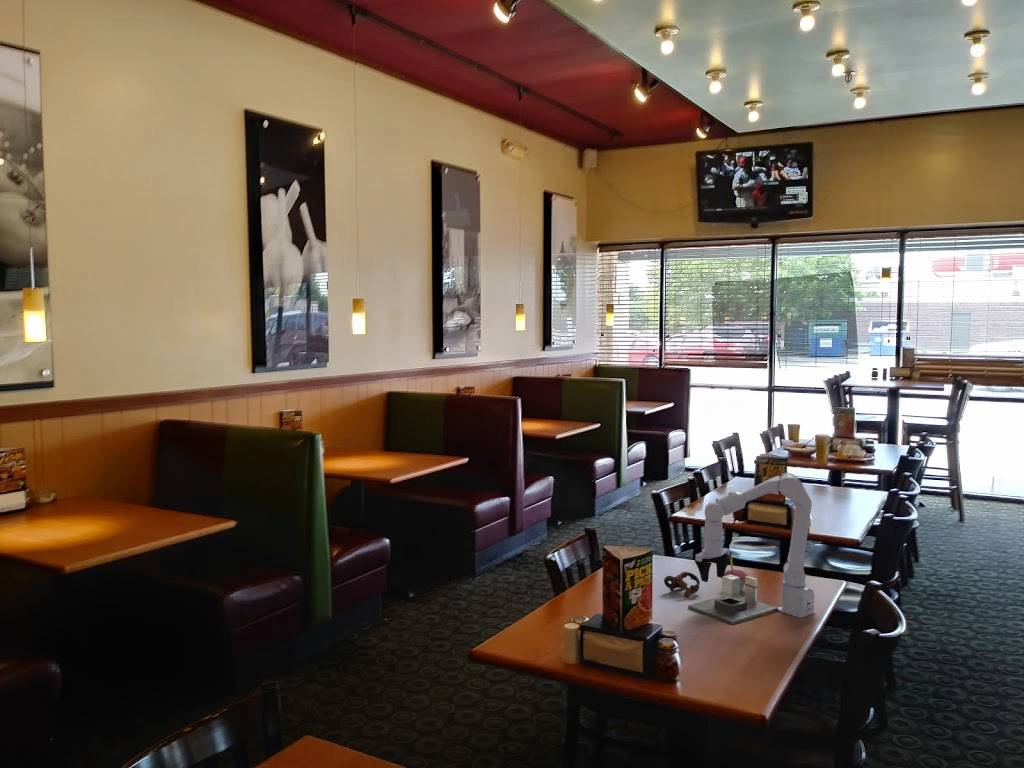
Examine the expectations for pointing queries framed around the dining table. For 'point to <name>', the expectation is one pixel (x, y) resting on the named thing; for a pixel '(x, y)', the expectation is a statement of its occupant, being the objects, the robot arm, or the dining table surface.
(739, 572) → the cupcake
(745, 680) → the dining table surface
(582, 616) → the dining table surface
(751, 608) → the stand base
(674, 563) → the dining table surface
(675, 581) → the broken terracotta ring
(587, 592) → the dining table surface
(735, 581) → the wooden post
